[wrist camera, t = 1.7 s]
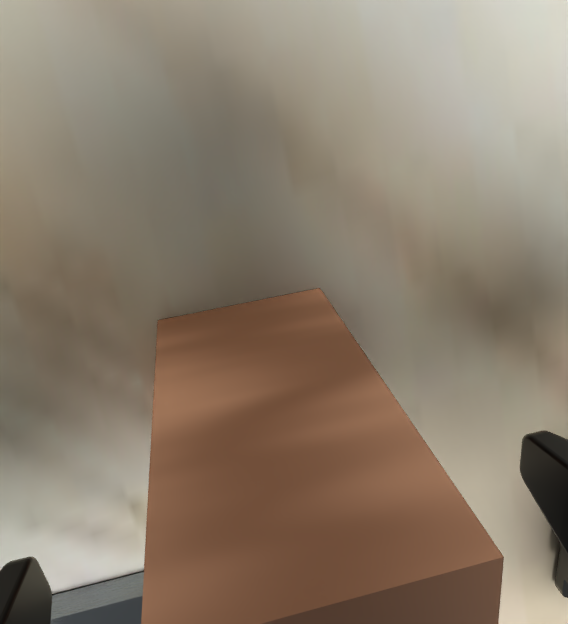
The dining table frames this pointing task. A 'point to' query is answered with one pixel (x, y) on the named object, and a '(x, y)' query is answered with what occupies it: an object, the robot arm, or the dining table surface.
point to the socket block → (101, 603)
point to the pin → (298, 483)
